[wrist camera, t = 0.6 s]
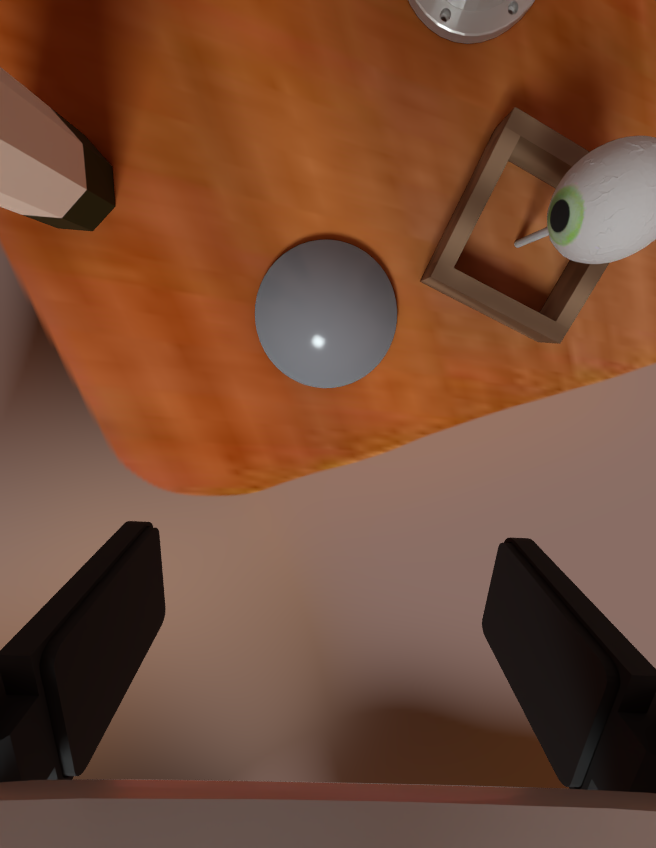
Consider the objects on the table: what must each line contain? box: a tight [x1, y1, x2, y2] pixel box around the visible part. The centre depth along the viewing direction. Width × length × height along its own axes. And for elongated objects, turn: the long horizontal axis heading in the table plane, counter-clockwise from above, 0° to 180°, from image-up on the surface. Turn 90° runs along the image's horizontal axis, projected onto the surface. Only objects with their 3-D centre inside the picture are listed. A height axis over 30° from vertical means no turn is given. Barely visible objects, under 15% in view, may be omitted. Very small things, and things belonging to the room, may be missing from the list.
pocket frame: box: [420, 107, 610, 344], centre depth 33 cm, size 14×14×4 cm
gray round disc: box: [255, 240, 397, 388], centre depth 36 cm, size 14×14×1 cm
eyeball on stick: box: [514, 136, 656, 264], centre depth 27 cm, size 7×7×15 cm
